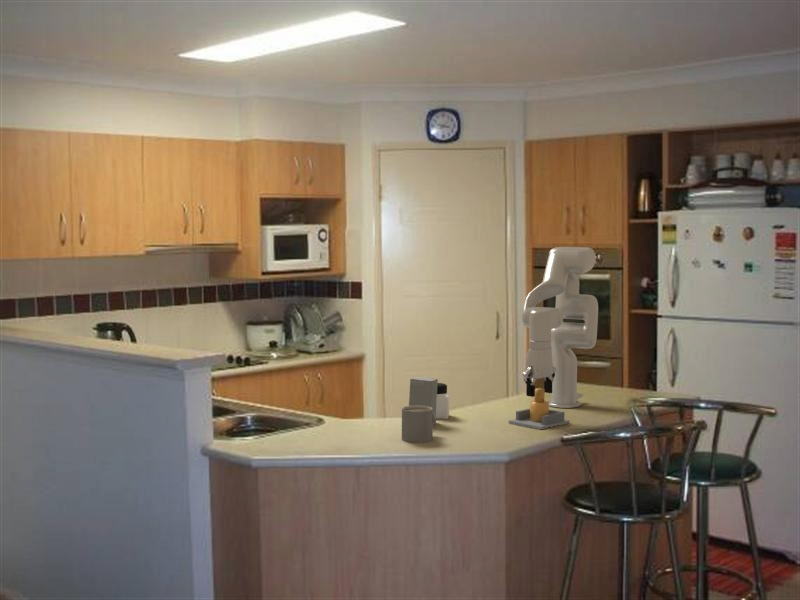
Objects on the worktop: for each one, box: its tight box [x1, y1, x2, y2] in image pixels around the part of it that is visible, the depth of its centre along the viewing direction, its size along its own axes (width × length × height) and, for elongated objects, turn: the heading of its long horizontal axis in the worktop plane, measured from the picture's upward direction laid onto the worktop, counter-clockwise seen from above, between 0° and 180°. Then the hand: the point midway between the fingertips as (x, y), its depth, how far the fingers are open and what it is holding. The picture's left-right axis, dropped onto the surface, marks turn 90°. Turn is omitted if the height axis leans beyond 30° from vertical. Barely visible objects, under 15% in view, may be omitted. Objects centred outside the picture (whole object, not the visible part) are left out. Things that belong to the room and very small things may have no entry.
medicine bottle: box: [436, 382, 450, 420], centre depth 358 cm, size 7×7×12 cm
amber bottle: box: [529, 387, 550, 422], centre depth 347 cm, size 6×6×11 cm
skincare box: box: [408, 376, 439, 423], centre depth 347 cm, size 8×7×16 cm
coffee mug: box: [401, 405, 436, 443], centre depth 324 cm, size 13×10×10 cm
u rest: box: [508, 408, 570, 430], centre depth 347 cm, size 16×14×4 cm
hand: (539, 394), depth 346 cm, fingers open, 9 cm apart
